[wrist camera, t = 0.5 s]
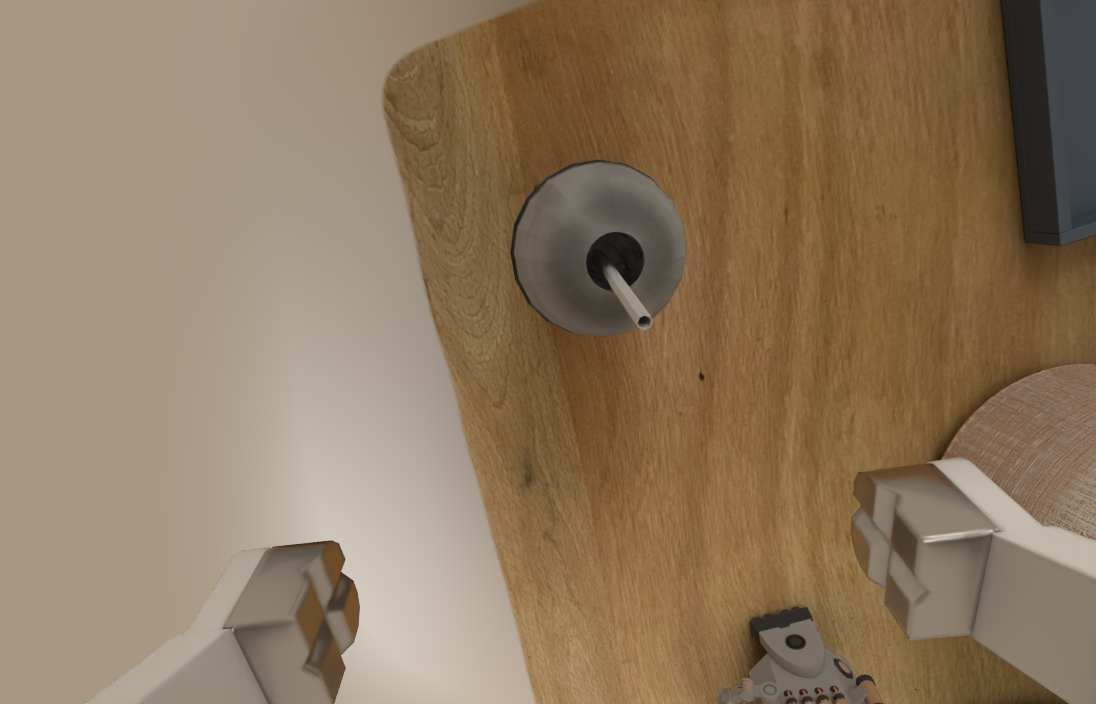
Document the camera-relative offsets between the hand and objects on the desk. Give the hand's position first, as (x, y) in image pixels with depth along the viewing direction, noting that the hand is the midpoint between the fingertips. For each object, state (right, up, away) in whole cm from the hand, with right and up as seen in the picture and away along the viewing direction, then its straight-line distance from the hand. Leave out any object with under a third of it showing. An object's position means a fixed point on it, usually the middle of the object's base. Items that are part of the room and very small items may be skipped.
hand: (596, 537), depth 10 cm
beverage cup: (0, +10, +27) cm, 29 cm away
